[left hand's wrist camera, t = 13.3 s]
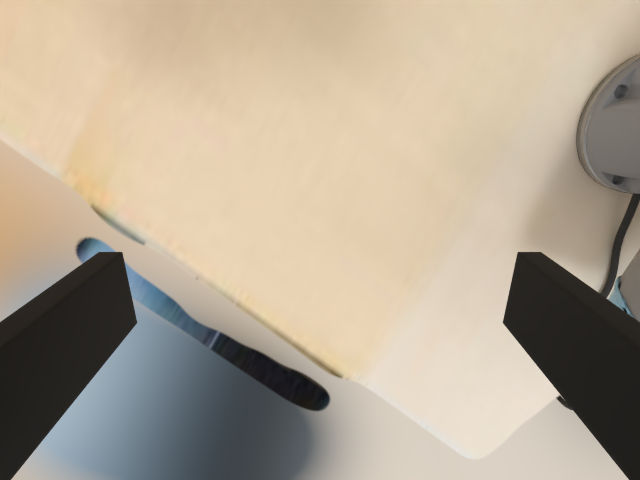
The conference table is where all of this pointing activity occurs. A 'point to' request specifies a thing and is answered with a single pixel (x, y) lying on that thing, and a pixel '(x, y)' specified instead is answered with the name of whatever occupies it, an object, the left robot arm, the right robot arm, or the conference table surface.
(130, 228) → the conference table surface
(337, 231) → the conference table surface
